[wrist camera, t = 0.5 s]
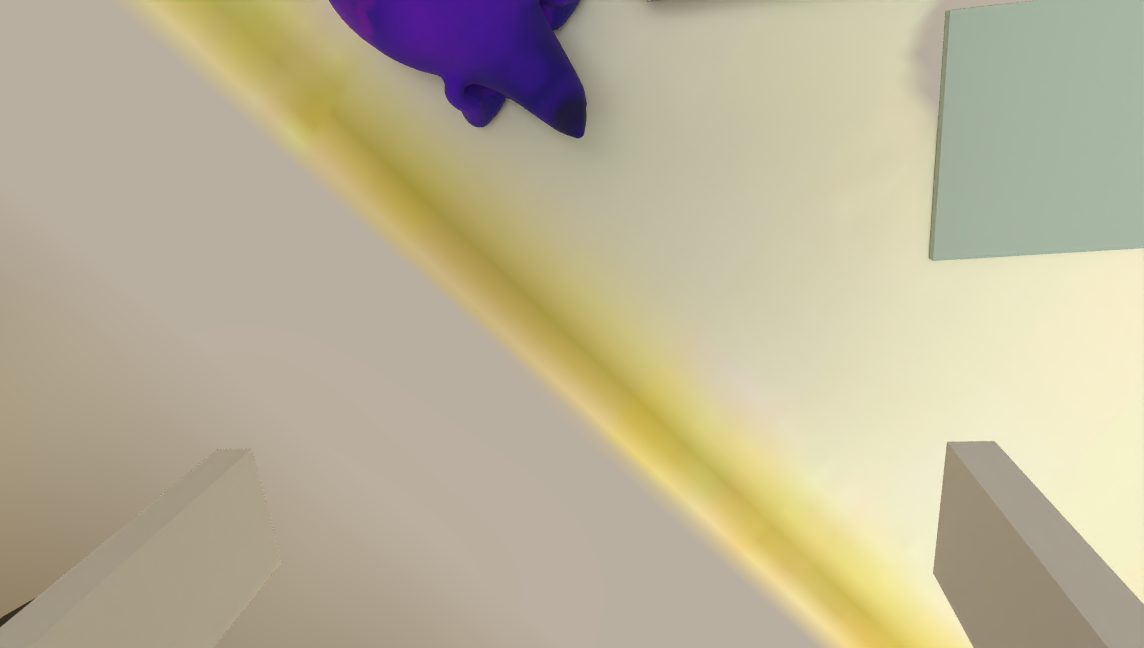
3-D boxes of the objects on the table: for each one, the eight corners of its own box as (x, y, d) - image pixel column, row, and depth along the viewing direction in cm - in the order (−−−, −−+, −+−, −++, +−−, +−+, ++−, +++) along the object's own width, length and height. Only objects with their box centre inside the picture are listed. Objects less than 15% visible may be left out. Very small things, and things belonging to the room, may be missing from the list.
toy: (643, 48, 36) (416, -181, 32) (656, 54, 27) (344, -260, 24) (536, 170, 39) (315, -28, 35) (515, 212, 30) (217, -48, 26)
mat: (945, 11, 33) (950, 9, 32) (1232, -21, 31) (1242, -24, 30) (929, 258, 36) (933, 260, 36) (1184, 242, 34) (1192, 244, 34)
